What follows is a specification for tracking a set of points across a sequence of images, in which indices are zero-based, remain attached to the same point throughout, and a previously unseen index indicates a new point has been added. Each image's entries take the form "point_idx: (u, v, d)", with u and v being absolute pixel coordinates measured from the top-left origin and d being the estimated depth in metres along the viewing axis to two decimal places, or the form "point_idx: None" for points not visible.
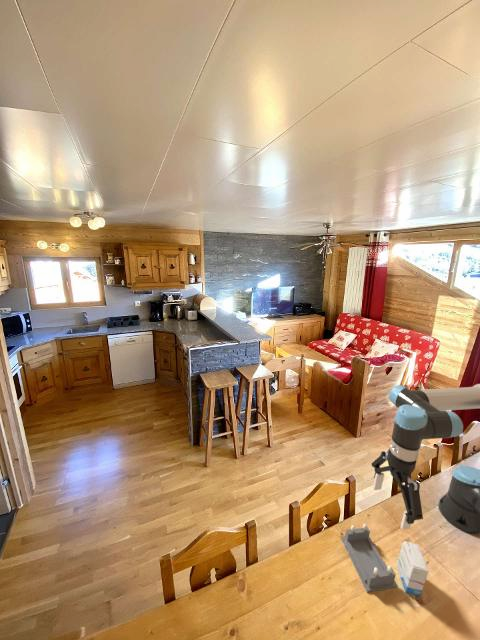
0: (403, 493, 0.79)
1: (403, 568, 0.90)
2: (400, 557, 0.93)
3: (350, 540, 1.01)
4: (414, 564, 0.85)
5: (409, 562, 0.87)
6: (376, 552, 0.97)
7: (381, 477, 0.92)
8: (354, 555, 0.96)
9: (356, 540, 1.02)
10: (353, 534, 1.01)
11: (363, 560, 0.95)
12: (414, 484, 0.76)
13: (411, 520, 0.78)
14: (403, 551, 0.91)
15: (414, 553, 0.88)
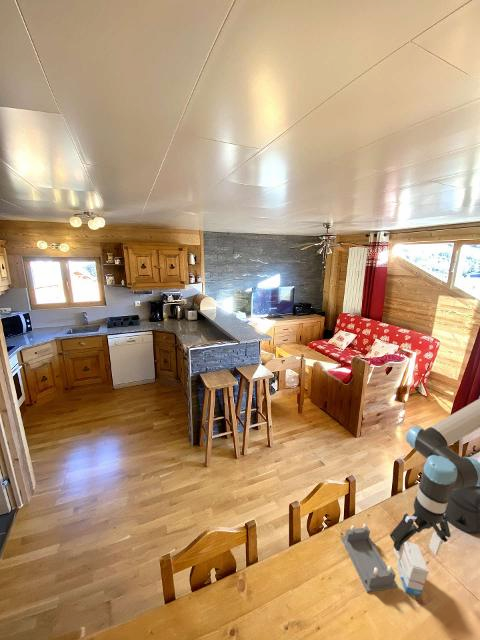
0: None
1: (403, 568, 0.90)
2: None
3: (350, 540, 1.01)
4: (414, 564, 0.85)
5: (409, 562, 0.87)
6: (376, 552, 0.97)
7: (437, 540, 0.87)
8: (354, 555, 0.96)
9: (356, 540, 1.02)
10: (353, 534, 1.01)
11: (363, 560, 0.95)
12: (407, 516, 0.83)
13: (395, 544, 0.85)
14: (403, 551, 0.91)
15: (414, 553, 0.88)
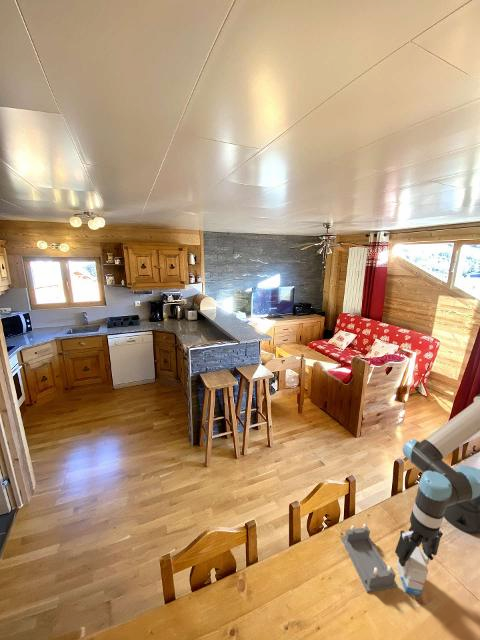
0: None
1: None
2: None
3: (350, 540, 1.01)
4: (414, 564, 0.85)
5: None
6: (376, 552, 0.97)
7: (423, 558, 0.88)
8: (354, 555, 0.96)
9: (356, 540, 1.02)
10: (353, 534, 1.01)
11: (363, 560, 0.95)
12: (402, 533, 0.85)
13: (400, 559, 0.88)
14: None
15: (413, 553, 0.88)
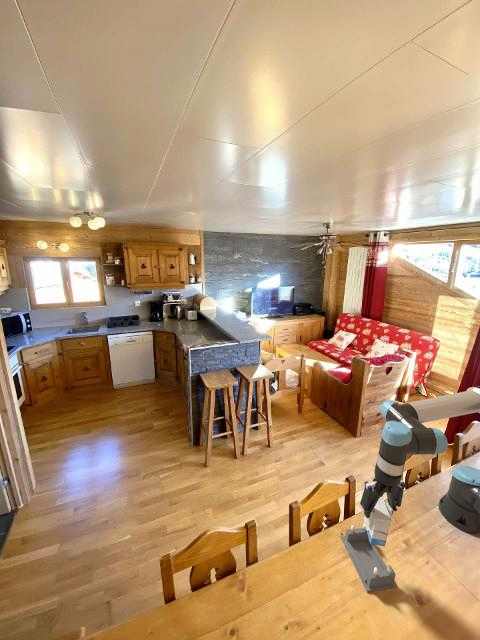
0: None
1: None
2: None
3: (350, 540, 1.01)
4: (378, 515, 0.86)
5: None
6: (376, 552, 0.97)
7: (388, 510, 0.90)
8: (354, 555, 0.96)
9: (356, 540, 1.02)
10: (353, 534, 1.01)
11: (363, 560, 0.95)
12: (366, 484, 0.86)
13: (365, 511, 0.89)
14: None
15: (378, 505, 0.90)
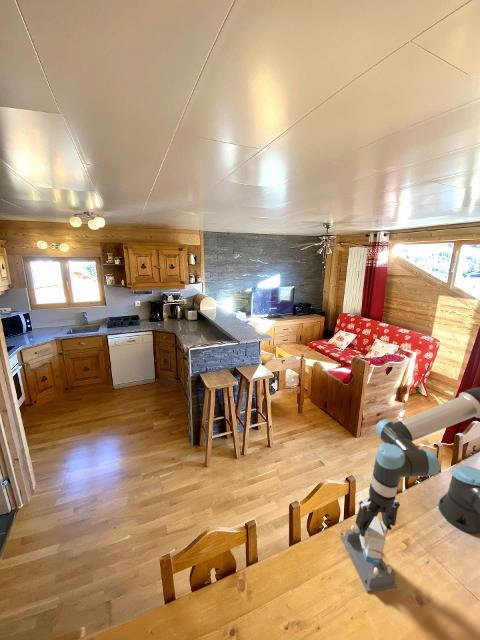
0: None
1: None
2: None
3: (350, 540, 1.01)
4: (372, 534, 0.89)
5: None
6: None
7: (382, 529, 0.92)
8: (354, 555, 0.96)
9: (356, 540, 1.02)
10: (353, 534, 1.01)
11: (363, 560, 0.95)
12: (361, 504, 0.88)
13: (360, 530, 0.92)
14: None
15: (373, 524, 0.92)
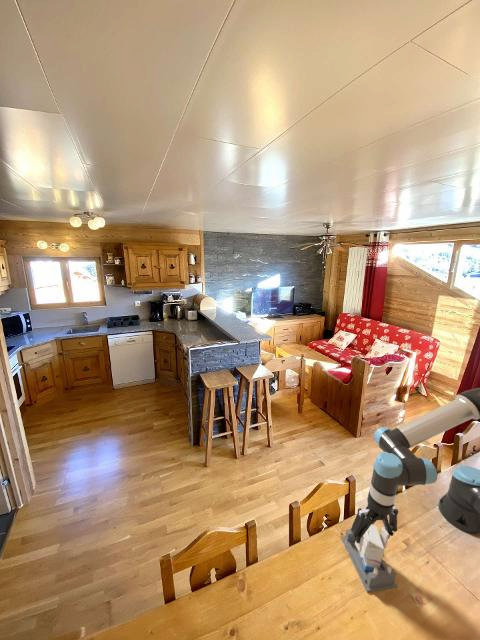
0: None
1: (363, 549, 0.95)
2: None
3: (350, 540, 1.01)
4: (372, 544, 0.90)
5: (367, 542, 0.92)
6: None
7: (384, 534, 0.93)
8: (354, 555, 0.96)
9: None
10: None
11: None
12: (360, 511, 0.89)
13: (355, 536, 0.92)
14: None
15: (372, 534, 0.93)
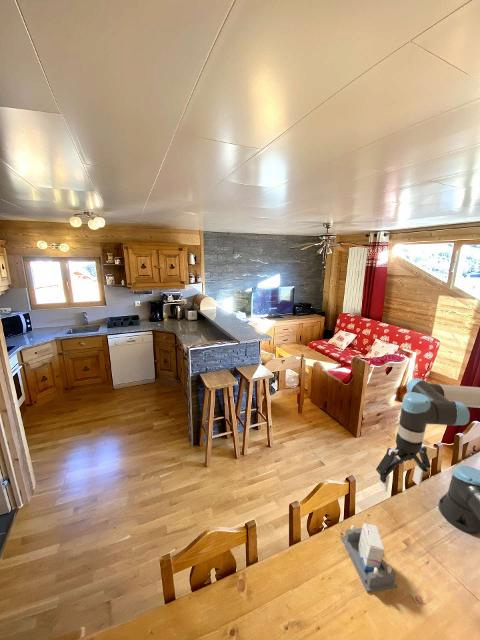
0: None
1: (363, 549, 0.95)
2: (360, 539, 0.98)
3: (350, 540, 1.01)
4: (371, 544, 0.90)
5: (367, 542, 0.92)
6: None
7: (419, 472, 0.96)
8: (354, 555, 0.96)
9: (356, 540, 1.02)
10: (353, 534, 1.01)
11: None
12: (390, 449, 0.91)
13: (381, 477, 0.94)
14: (363, 533, 0.96)
15: (372, 534, 0.93)
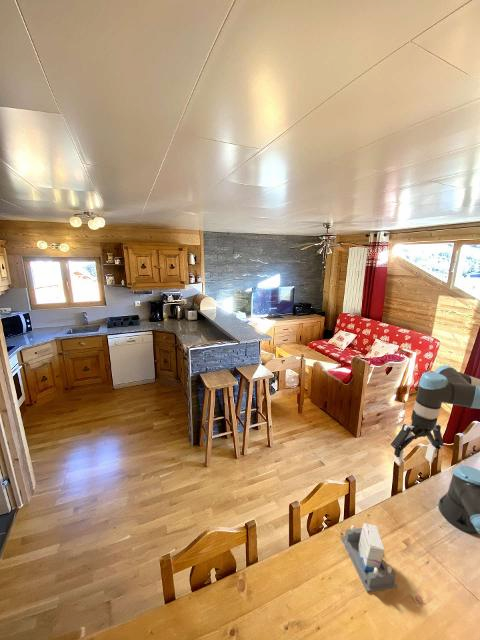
0: None
1: (363, 549, 0.95)
2: (360, 539, 0.98)
3: (350, 540, 1.01)
4: (372, 544, 0.90)
5: (367, 542, 0.92)
6: None
7: (432, 449, 1.00)
8: (354, 555, 0.96)
9: (356, 540, 1.02)
10: (353, 534, 1.01)
11: None
12: (405, 425, 0.96)
13: (395, 451, 0.99)
14: (363, 533, 0.96)
15: (372, 534, 0.93)
